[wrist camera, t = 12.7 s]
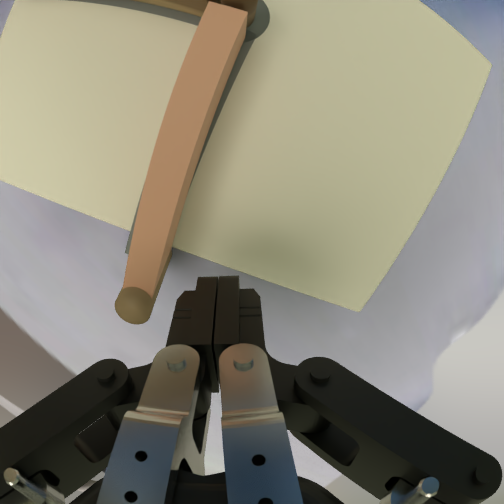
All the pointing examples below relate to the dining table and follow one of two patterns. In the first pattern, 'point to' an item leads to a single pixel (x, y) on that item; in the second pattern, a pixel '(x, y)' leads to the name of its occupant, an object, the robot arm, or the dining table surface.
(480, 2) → the dining table surface
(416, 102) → the card
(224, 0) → the wooden fence panel
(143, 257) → the gate
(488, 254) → the dining table surface
